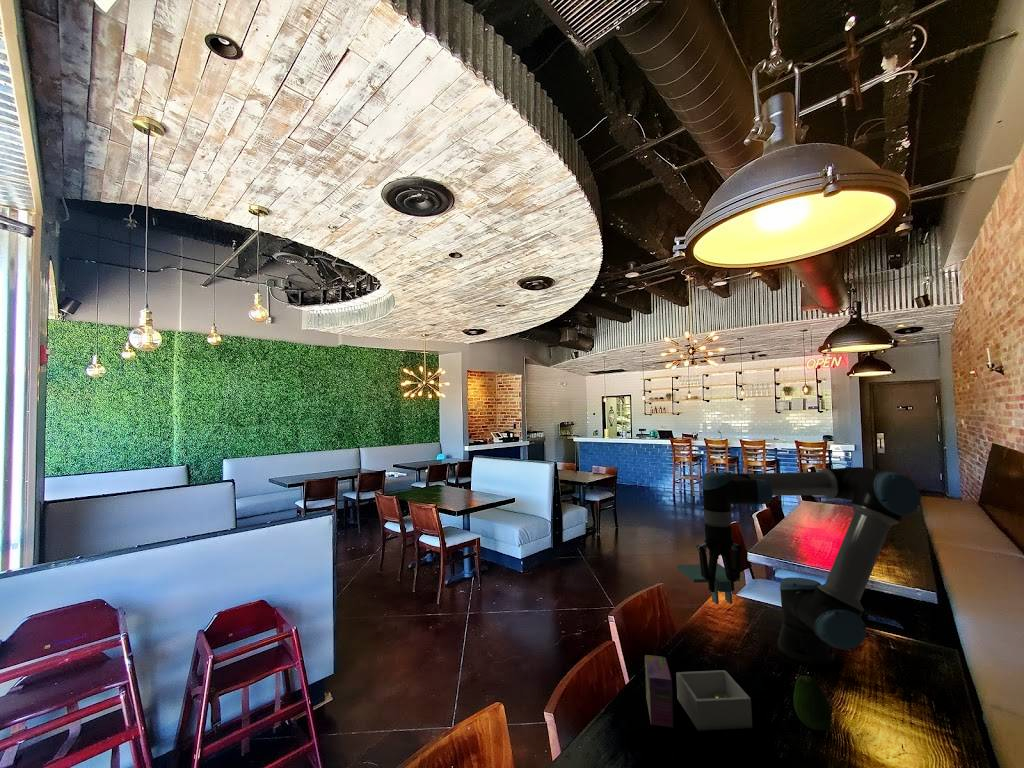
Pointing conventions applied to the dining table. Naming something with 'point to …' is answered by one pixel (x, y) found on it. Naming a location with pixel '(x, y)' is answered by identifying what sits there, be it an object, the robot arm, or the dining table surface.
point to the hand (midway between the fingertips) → (722, 601)
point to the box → (659, 691)
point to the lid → (695, 576)
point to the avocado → (811, 704)
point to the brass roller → (721, 696)
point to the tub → (713, 700)
